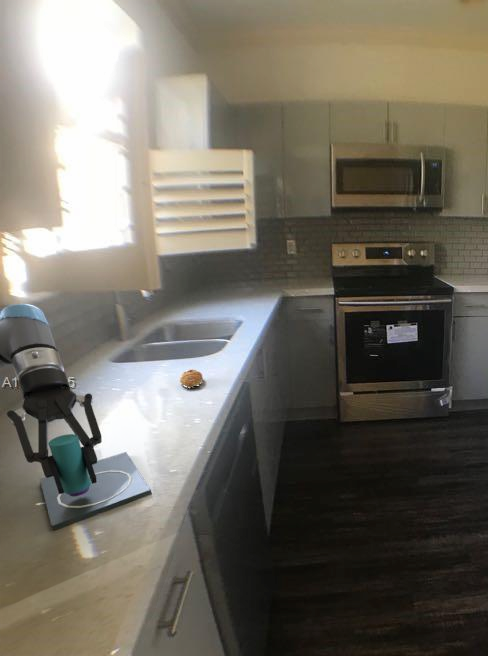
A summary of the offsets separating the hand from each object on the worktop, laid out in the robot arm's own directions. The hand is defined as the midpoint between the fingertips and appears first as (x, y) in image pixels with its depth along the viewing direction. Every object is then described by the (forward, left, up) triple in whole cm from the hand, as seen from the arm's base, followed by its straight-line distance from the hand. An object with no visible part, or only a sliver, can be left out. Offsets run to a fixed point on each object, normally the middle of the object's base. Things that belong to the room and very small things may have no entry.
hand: (77, 485), depth 82 cm
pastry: (-53, +38, -6) cm, 65 cm away
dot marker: (-4, 0, -3) cm, 5 cm away
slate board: (-7, +3, -5) cm, 9 cm away
